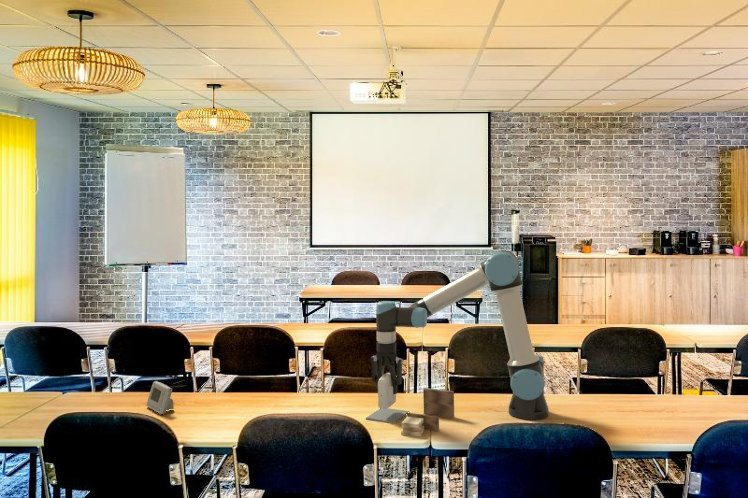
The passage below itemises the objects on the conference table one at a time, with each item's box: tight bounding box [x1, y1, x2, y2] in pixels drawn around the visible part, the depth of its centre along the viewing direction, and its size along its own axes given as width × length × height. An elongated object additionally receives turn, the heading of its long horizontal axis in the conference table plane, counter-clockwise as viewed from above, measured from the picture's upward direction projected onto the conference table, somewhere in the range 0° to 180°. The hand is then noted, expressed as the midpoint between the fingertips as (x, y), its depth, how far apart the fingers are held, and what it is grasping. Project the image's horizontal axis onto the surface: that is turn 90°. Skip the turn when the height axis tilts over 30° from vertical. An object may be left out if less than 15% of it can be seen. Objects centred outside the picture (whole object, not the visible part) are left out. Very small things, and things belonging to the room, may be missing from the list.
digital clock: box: [146, 380, 175, 415], centre depth 251 cm, size 16×9×11 cm, turn 29°
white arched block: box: [377, 372, 397, 409], centre depth 237 cm, size 10×4×12 cm, turn 156°
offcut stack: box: [400, 416, 425, 437], centre depth 219 cm, size 7×7×4 cm
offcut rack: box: [406, 387, 455, 432], centre depth 230 cm, size 12×17×10 cm
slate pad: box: [365, 407, 410, 424], centre depth 238 cm, size 12×14×1 cm
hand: (387, 400), depth 238 cm, fingers closed on white arched block, 4 cm apart
